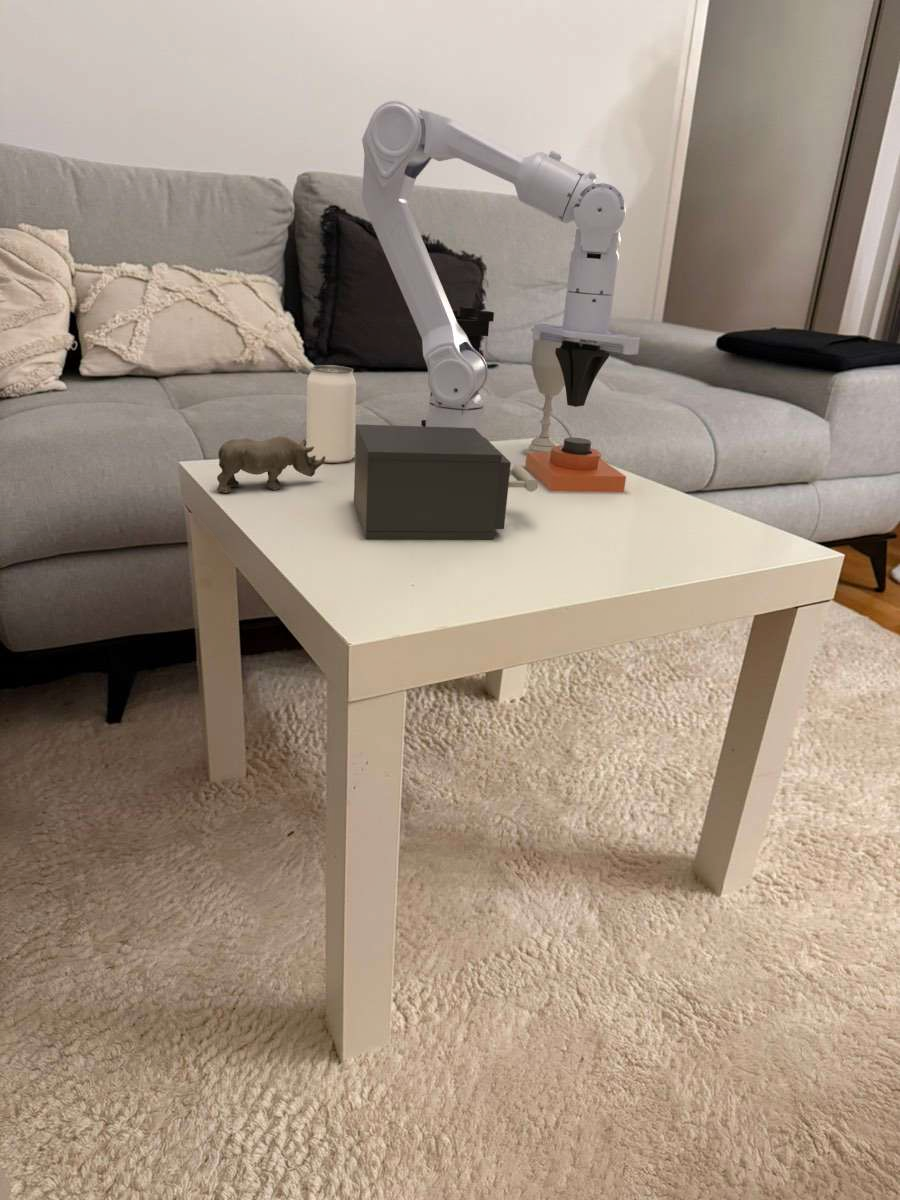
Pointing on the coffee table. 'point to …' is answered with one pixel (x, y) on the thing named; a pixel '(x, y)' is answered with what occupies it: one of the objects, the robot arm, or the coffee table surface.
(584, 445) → the button
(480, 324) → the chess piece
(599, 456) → the control block
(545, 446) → the chalice
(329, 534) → the coffee table surface
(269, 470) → the rhino figurine
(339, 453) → the can
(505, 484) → the drawer
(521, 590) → the coffee table surface
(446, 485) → the cabinet
